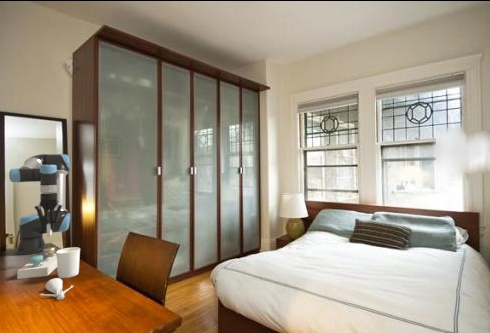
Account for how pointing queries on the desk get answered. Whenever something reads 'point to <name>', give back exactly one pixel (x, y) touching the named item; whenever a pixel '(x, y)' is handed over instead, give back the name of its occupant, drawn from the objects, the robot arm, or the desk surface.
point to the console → (38, 269)
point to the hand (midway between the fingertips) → (49, 235)
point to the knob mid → (44, 255)
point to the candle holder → (68, 262)
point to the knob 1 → (36, 260)
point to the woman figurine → (55, 288)
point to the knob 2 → (50, 250)
